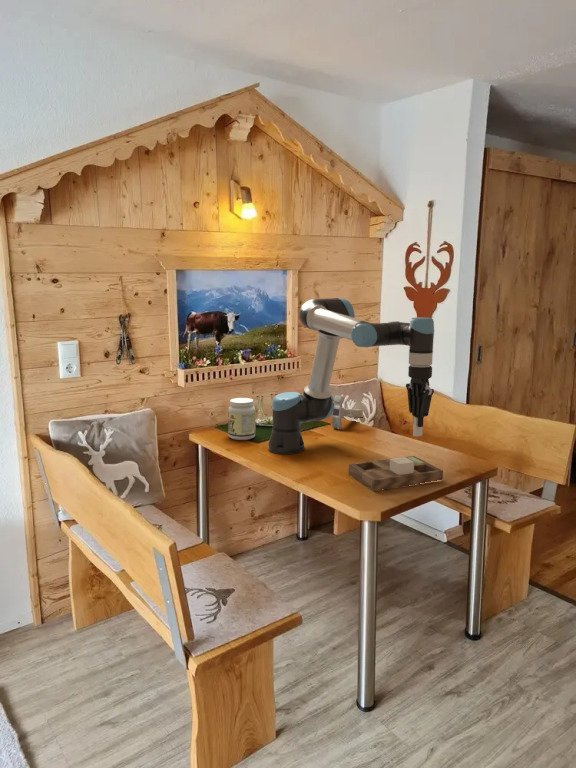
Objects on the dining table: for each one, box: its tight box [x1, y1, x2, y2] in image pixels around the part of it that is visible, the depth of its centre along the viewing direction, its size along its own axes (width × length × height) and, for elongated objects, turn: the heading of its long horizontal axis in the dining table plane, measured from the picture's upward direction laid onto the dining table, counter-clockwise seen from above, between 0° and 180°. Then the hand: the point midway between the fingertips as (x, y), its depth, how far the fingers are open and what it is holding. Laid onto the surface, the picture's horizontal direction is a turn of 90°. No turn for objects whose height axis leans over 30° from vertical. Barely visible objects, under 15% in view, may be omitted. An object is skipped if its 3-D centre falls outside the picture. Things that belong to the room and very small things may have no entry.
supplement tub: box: [227, 397, 256, 441], centre depth 255 cm, size 12×12×17 cm
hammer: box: [331, 395, 363, 430], centre depth 280 cm, size 16×5×30 cm
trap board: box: [348, 455, 444, 492], centre depth 205 cm, size 28×18×4 cm, turn 112°
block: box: [389, 456, 414, 475], centre depth 200 cm, size 6×6×4 cm
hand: (417, 435), depth 189 cm, fingers closed
